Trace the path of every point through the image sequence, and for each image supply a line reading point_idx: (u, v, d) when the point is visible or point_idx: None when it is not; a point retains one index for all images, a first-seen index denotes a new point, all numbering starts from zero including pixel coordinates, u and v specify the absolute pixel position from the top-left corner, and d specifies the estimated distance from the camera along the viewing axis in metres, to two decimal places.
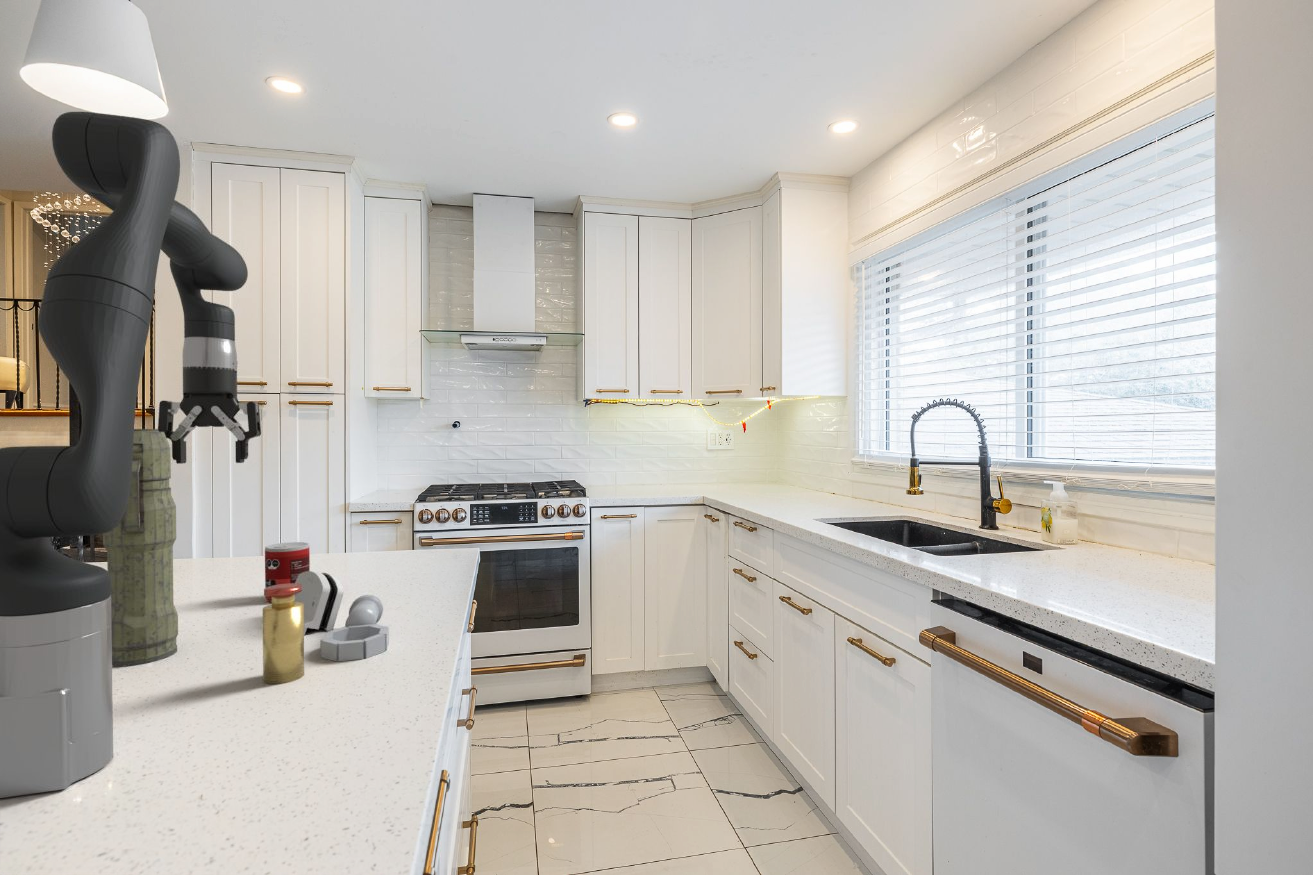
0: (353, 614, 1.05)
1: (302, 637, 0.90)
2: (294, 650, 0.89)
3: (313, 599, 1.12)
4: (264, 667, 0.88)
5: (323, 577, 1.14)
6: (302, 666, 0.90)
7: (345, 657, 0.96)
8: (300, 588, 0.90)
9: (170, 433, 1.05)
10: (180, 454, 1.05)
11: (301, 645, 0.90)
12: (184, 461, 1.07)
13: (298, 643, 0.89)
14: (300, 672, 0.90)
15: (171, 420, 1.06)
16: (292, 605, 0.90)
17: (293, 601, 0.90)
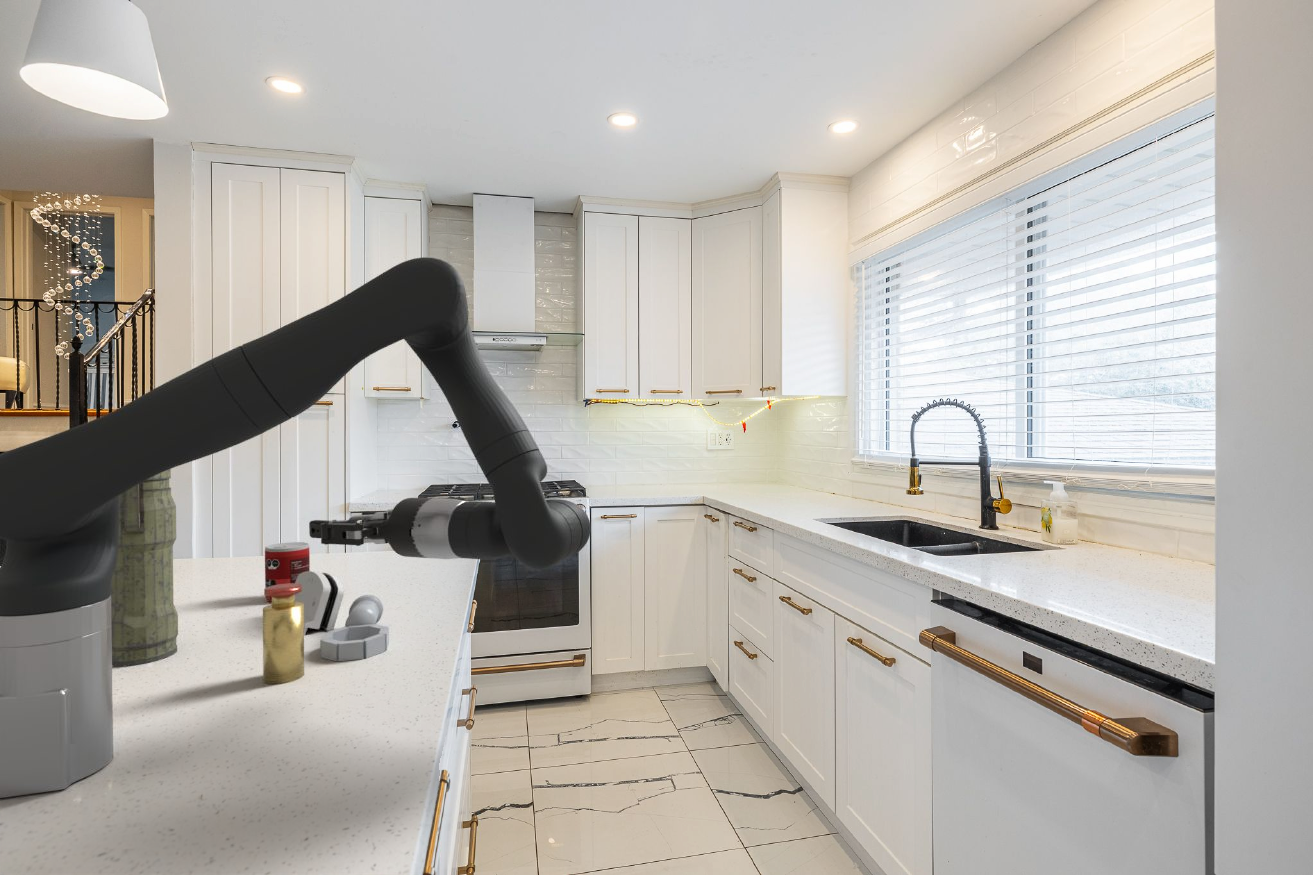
0: (353, 614, 1.05)
1: (302, 637, 0.90)
2: (294, 650, 0.89)
3: (313, 599, 1.12)
4: (264, 667, 0.88)
5: (323, 577, 1.14)
6: (302, 666, 0.90)
7: (345, 657, 0.96)
8: (300, 588, 0.90)
9: None
10: (370, 512, 0.89)
11: (301, 645, 0.90)
12: (363, 522, 0.90)
13: (299, 643, 0.89)
14: (300, 672, 0.90)
15: None
16: (292, 605, 0.90)
17: (293, 601, 0.90)
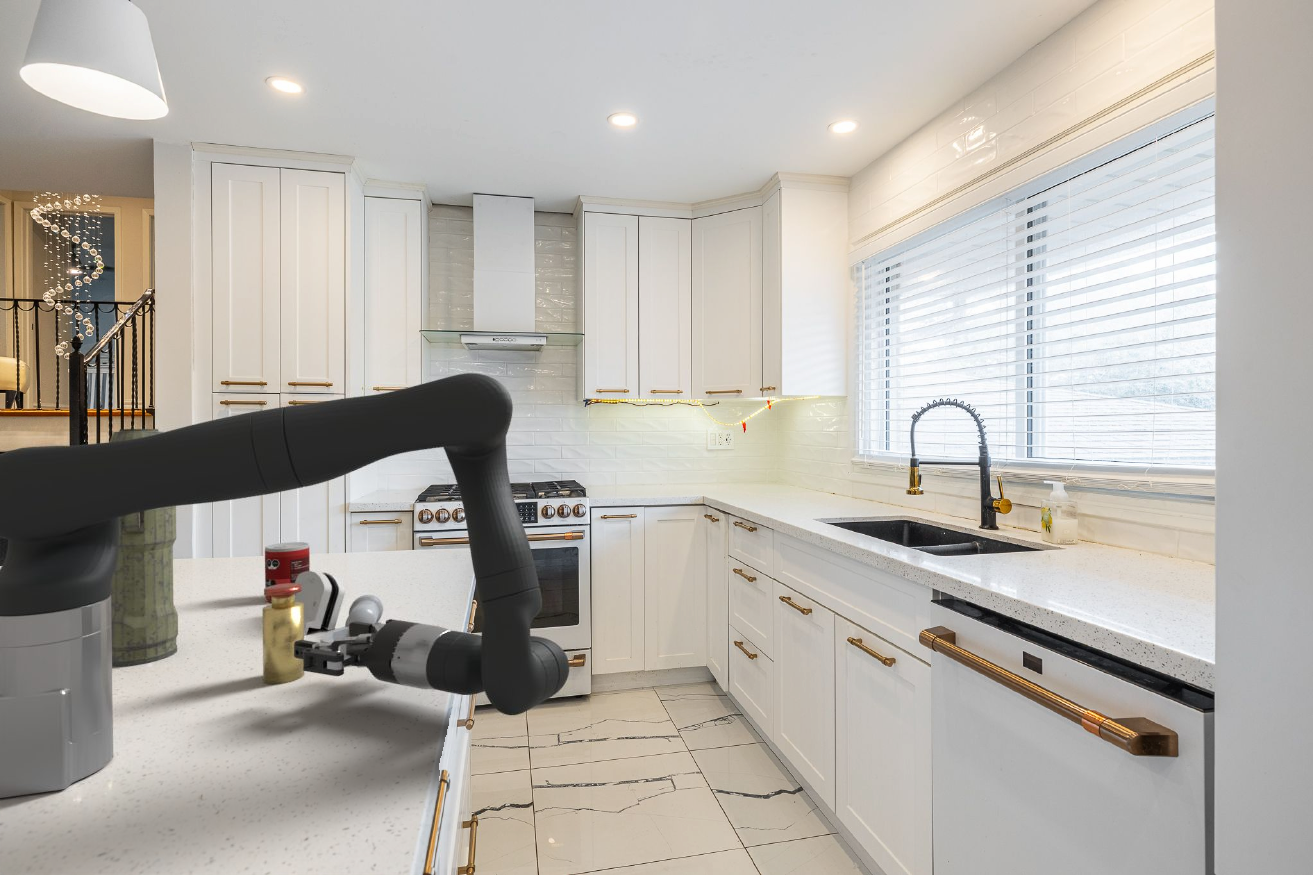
0: (353, 614, 1.05)
1: (302, 637, 0.90)
2: (293, 650, 0.89)
3: (314, 599, 1.12)
4: (264, 667, 0.88)
5: (324, 577, 1.15)
6: (302, 666, 0.90)
7: None
8: (300, 588, 0.90)
9: None
10: (357, 623, 0.90)
11: None
12: (350, 632, 0.90)
13: None
14: (300, 672, 0.90)
15: None
16: (292, 605, 0.90)
17: (293, 601, 0.90)
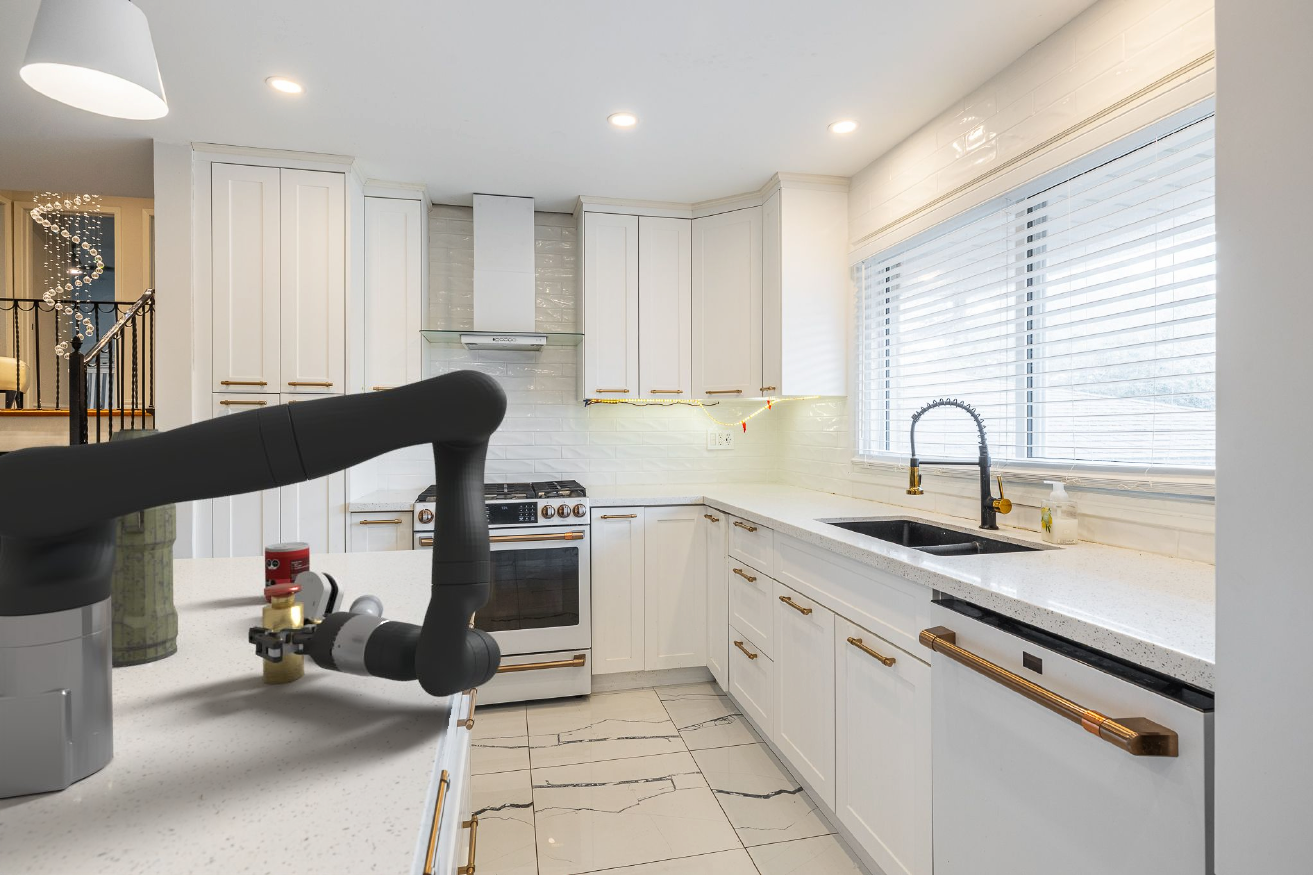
0: None
1: None
2: None
3: (313, 599, 1.12)
4: (264, 667, 0.88)
5: (323, 577, 1.15)
6: (302, 666, 0.90)
7: None
8: (300, 587, 0.90)
9: None
10: None
11: None
12: None
13: None
14: (300, 672, 0.90)
15: None
16: (292, 605, 0.90)
17: (293, 601, 0.90)
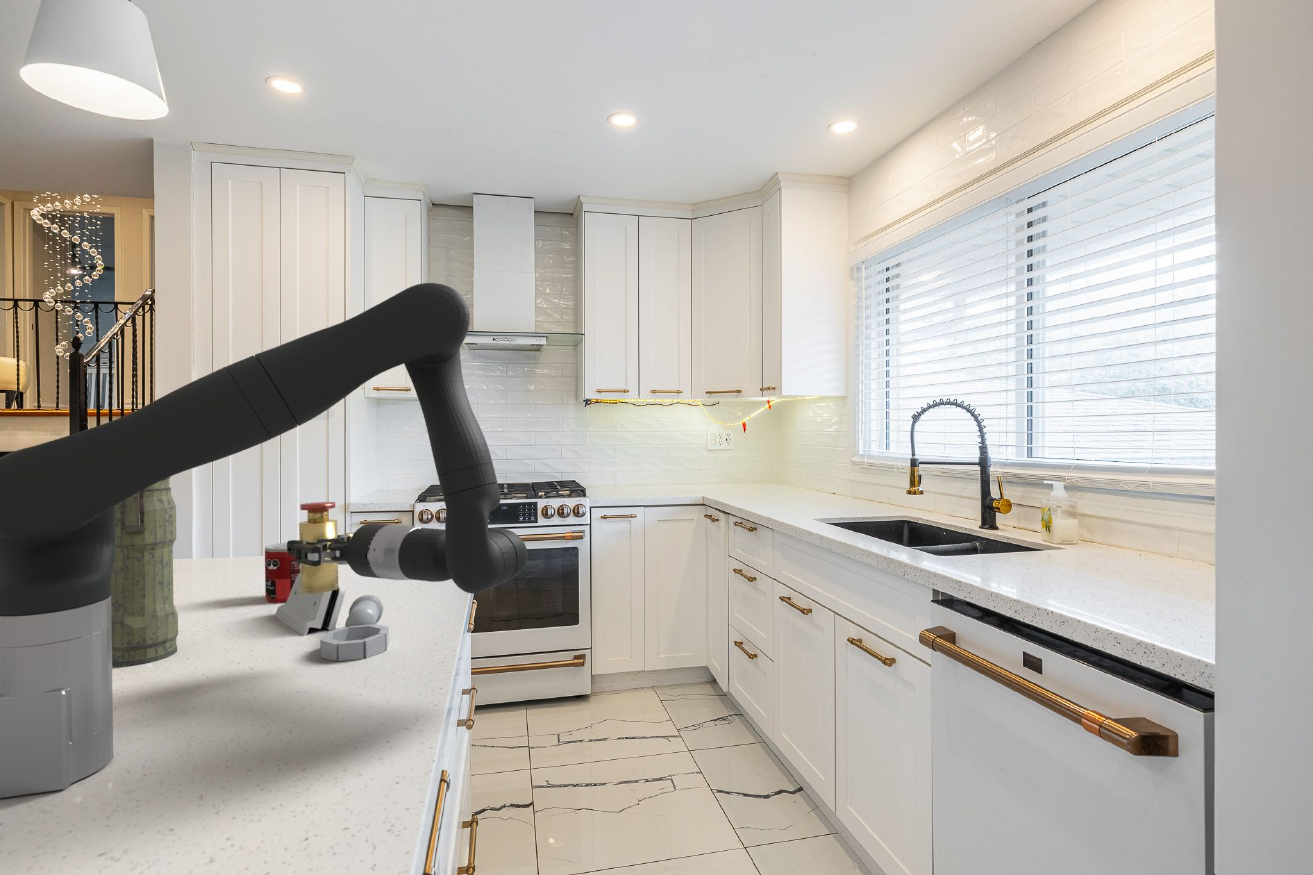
0: (353, 614, 1.05)
1: None
2: None
3: (314, 599, 1.12)
4: (301, 578, 0.93)
5: None
6: (337, 579, 0.95)
7: (345, 657, 0.96)
8: (334, 504, 0.95)
9: None
10: None
11: None
12: None
13: None
14: (335, 584, 0.94)
15: None
16: (327, 520, 0.94)
17: (327, 517, 0.95)
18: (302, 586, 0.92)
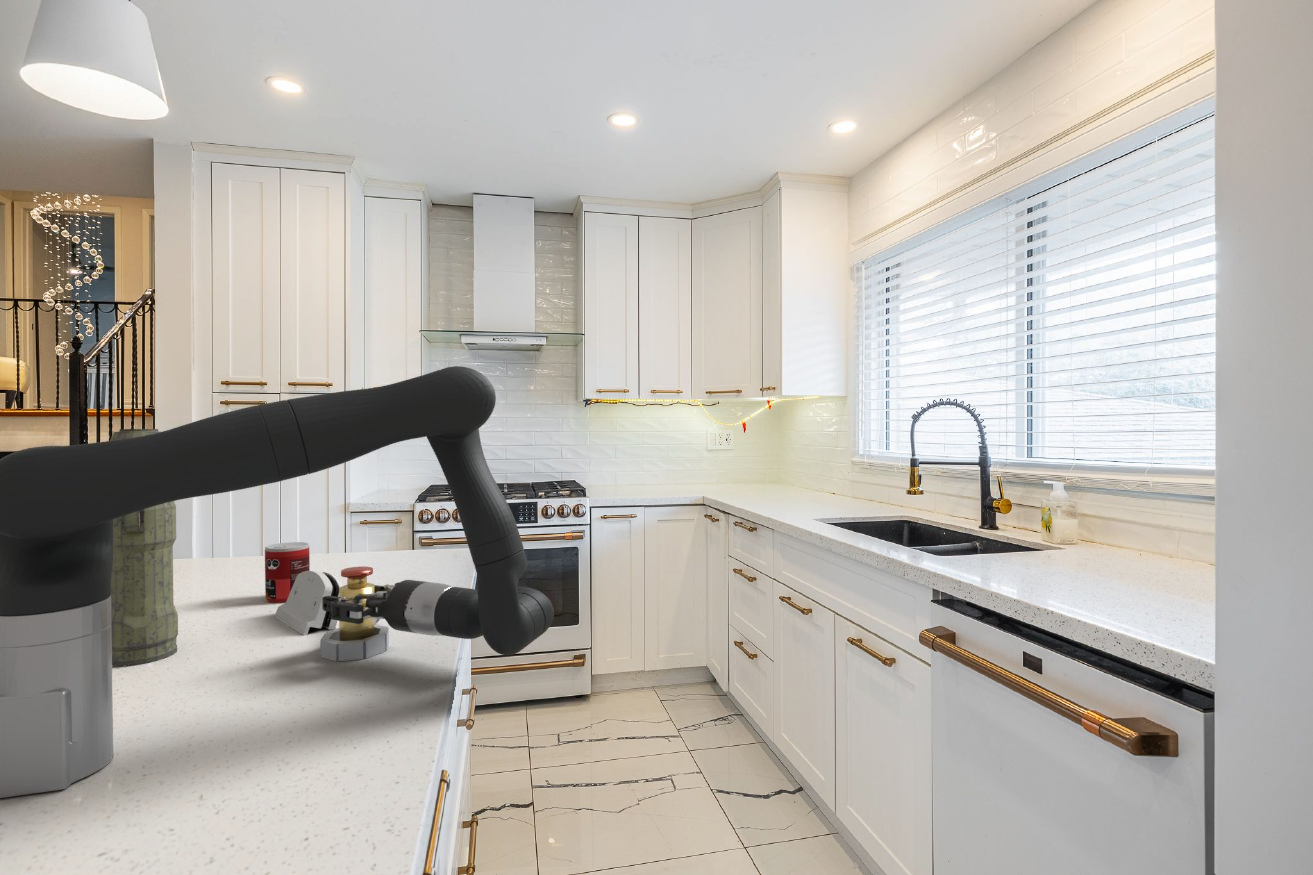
0: None
1: None
2: (367, 626, 1.00)
3: (315, 599, 1.13)
4: (341, 640, 0.99)
5: (324, 576, 1.15)
6: None
7: (345, 657, 0.96)
8: (372, 570, 1.01)
9: None
10: None
11: (372, 621, 1.01)
12: None
13: (371, 620, 1.00)
14: None
15: None
16: (365, 585, 1.01)
17: (366, 582, 1.01)
18: None
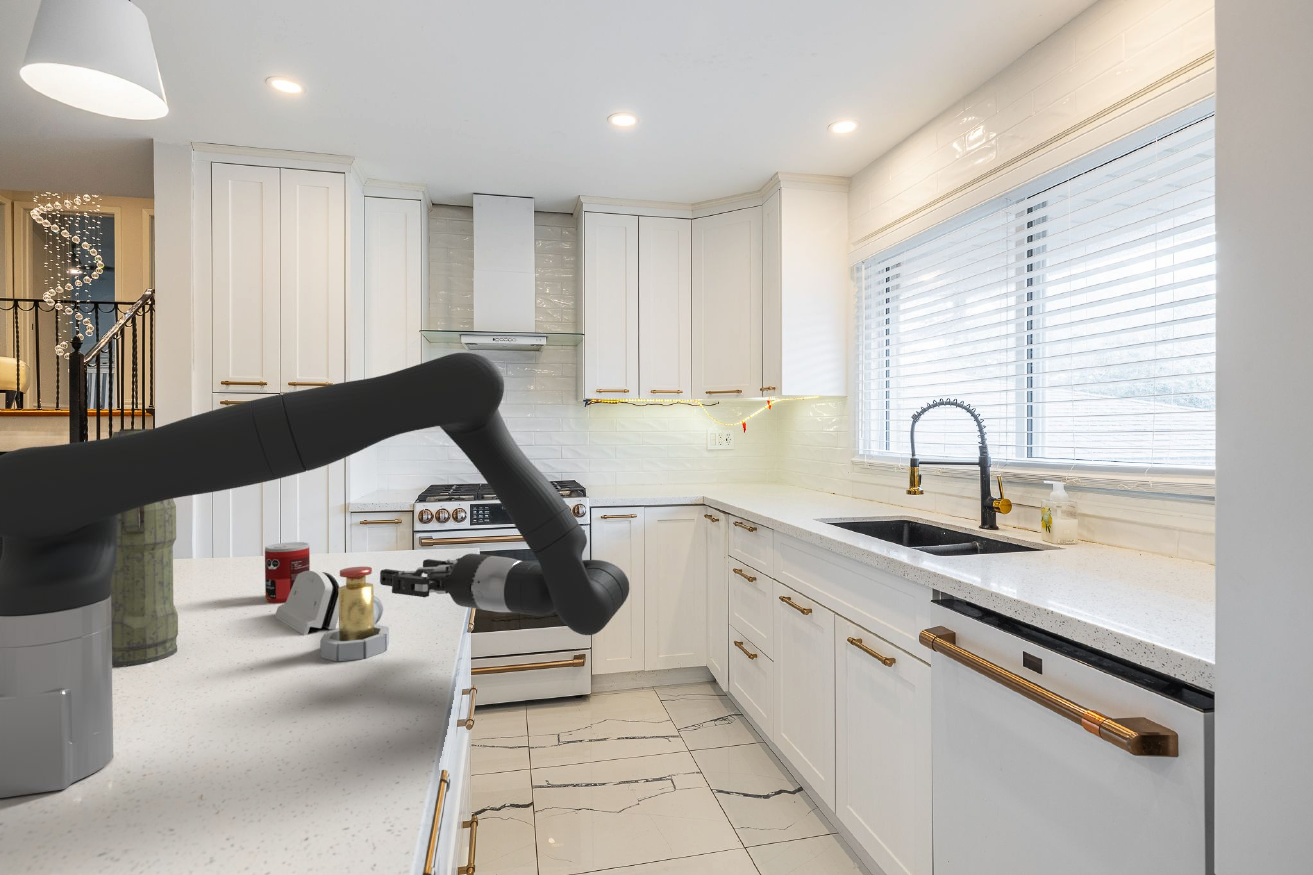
0: None
1: (373, 614, 1.01)
2: (366, 625, 1.00)
3: (315, 599, 1.13)
4: (341, 640, 0.99)
5: (324, 576, 1.15)
6: None
7: (345, 657, 0.96)
8: (371, 570, 1.01)
9: None
10: (430, 560, 1.00)
11: (372, 621, 1.01)
12: None
13: (370, 619, 1.01)
14: None
15: None
16: (364, 585, 1.01)
17: (365, 582, 1.01)
18: None
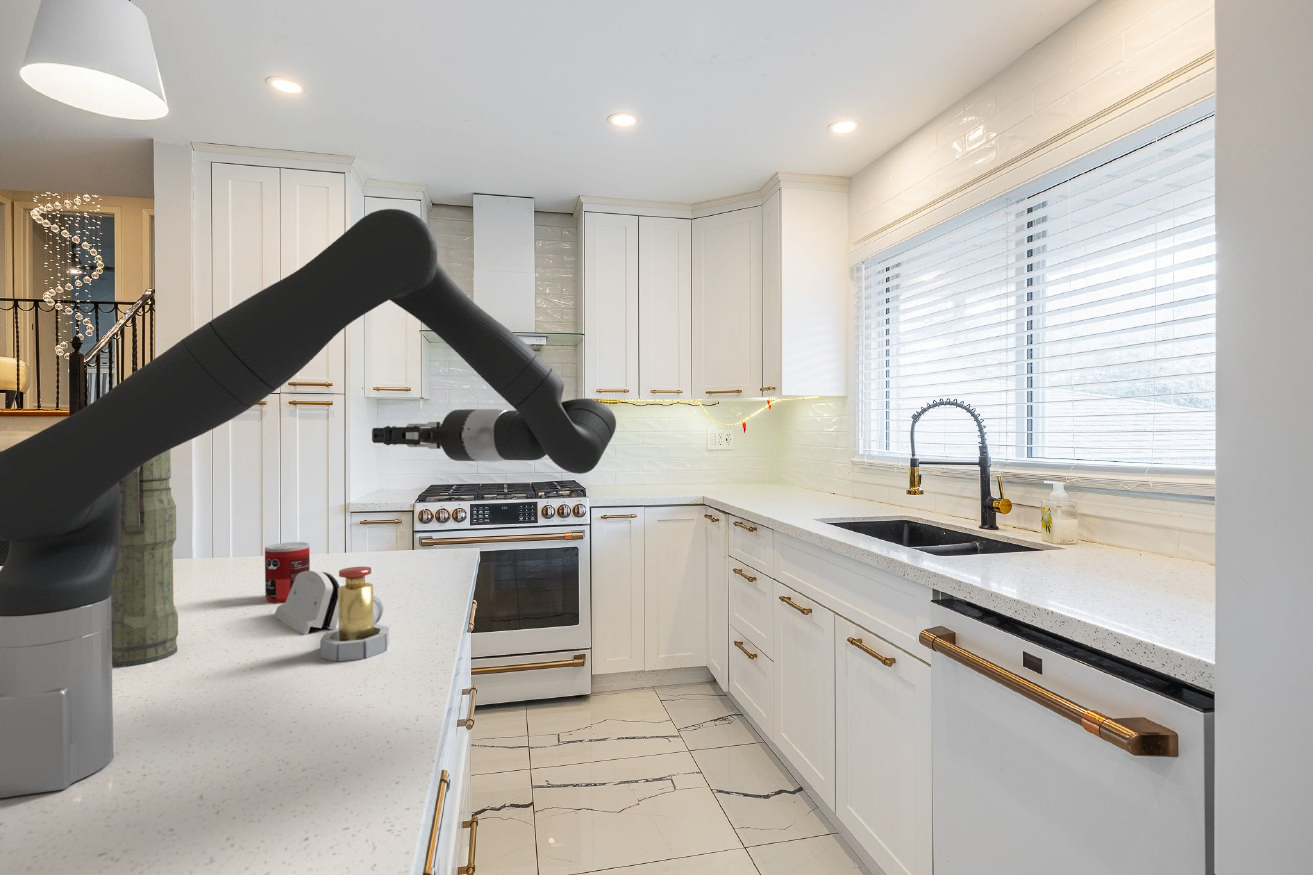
0: None
1: (372, 614, 1.01)
2: (366, 625, 1.00)
3: (315, 599, 1.13)
4: (341, 640, 0.99)
5: (324, 576, 1.15)
6: None
7: (345, 657, 0.96)
8: (370, 570, 1.01)
9: None
10: None
11: (372, 621, 1.01)
12: None
13: (370, 619, 1.01)
14: None
15: None
16: (363, 585, 1.01)
17: (364, 582, 1.01)
18: None
